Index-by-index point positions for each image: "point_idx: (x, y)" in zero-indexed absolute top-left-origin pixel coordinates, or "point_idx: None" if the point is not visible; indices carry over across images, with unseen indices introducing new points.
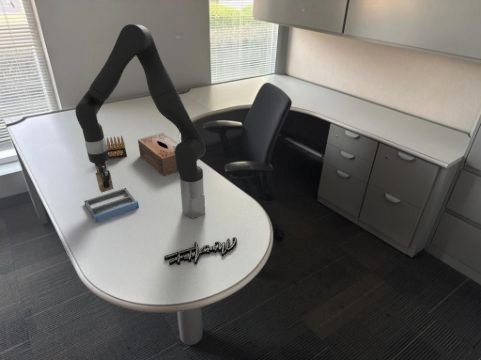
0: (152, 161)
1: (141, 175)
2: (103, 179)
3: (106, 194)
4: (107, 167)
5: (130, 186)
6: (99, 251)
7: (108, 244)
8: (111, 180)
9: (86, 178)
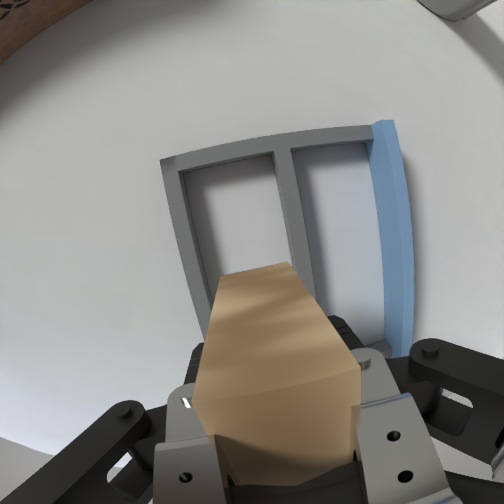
0: (15, 28)
1: (59, 78)
2: (445, 419)
3: (195, 292)
4: (459, 499)
5: (130, 133)
6: (498, 320)
7: (495, 296)
8: (313, 299)
9: (24, 345)
